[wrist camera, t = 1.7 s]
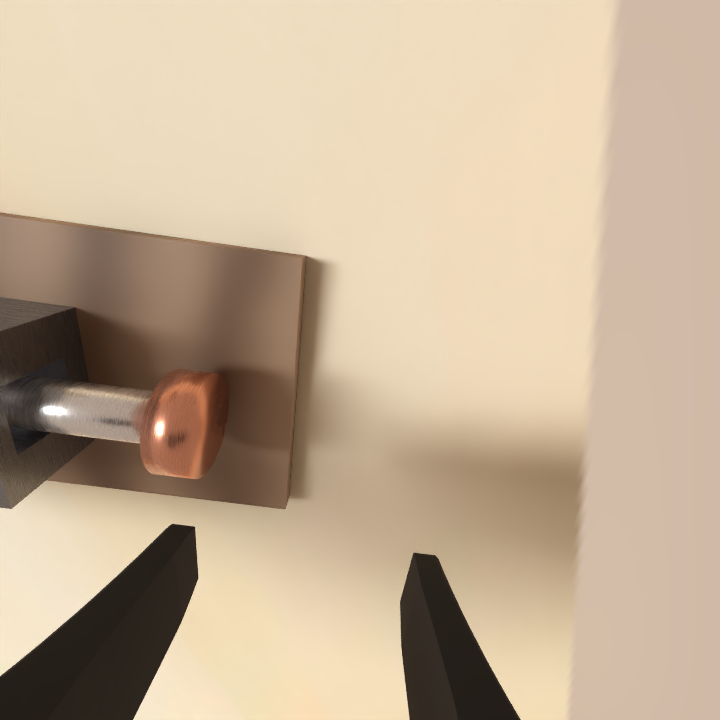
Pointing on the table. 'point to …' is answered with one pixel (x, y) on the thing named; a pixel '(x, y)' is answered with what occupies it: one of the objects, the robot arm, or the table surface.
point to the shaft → (131, 416)
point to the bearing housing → (45, 359)
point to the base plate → (174, 341)
